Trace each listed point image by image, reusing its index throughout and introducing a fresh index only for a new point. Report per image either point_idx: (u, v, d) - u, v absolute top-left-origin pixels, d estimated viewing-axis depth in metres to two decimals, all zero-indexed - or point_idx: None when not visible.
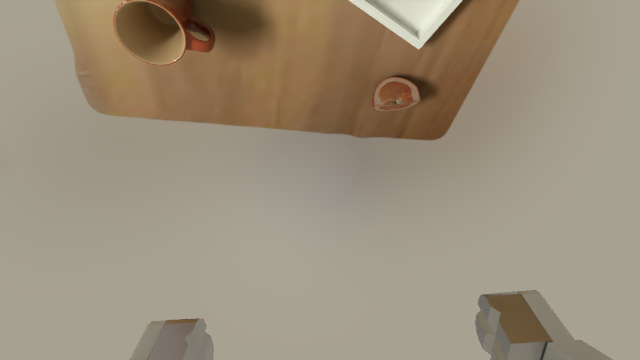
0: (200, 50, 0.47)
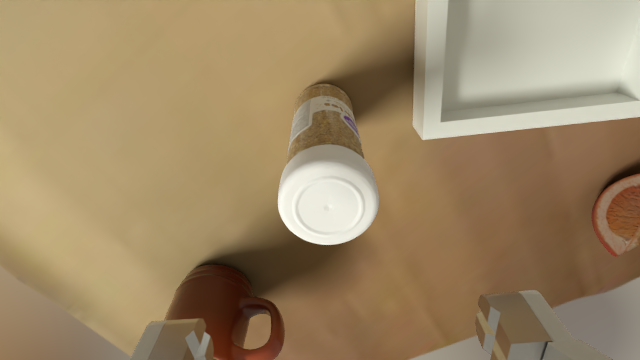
0: None
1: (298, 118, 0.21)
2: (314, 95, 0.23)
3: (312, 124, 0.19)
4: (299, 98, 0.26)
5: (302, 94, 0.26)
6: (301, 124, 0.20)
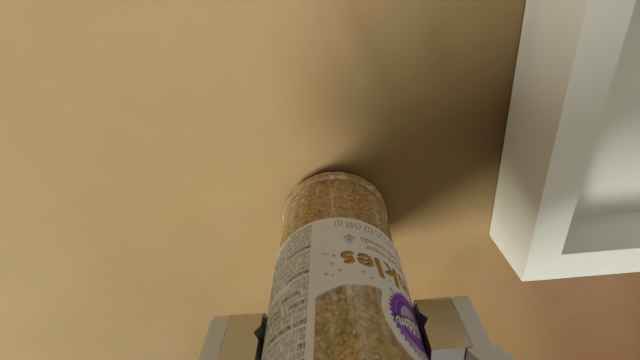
0: None
1: (283, 287, 0.10)
2: (318, 210, 0.12)
3: None
4: (291, 197, 0.14)
5: (296, 190, 0.14)
6: (287, 336, 0.08)
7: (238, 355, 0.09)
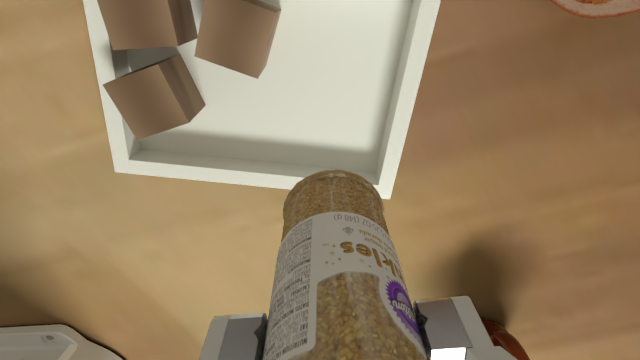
0: None
1: (286, 276, 0.10)
2: (318, 205, 0.12)
3: (317, 345, 0.07)
4: (292, 195, 0.15)
5: (297, 187, 0.14)
6: (291, 319, 0.08)
7: (238, 355, 0.09)
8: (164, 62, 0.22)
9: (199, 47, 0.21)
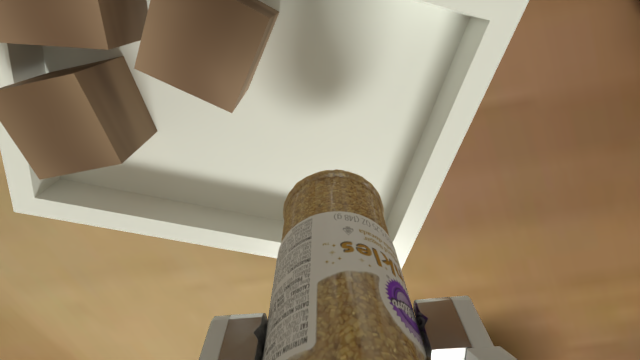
0: None
1: (286, 275, 0.10)
2: (318, 205, 0.12)
3: (317, 343, 0.07)
4: (292, 194, 0.15)
5: (297, 187, 0.14)
6: (291, 318, 0.08)
7: (238, 355, 0.09)
8: (89, 70, 0.14)
9: (143, 55, 0.13)
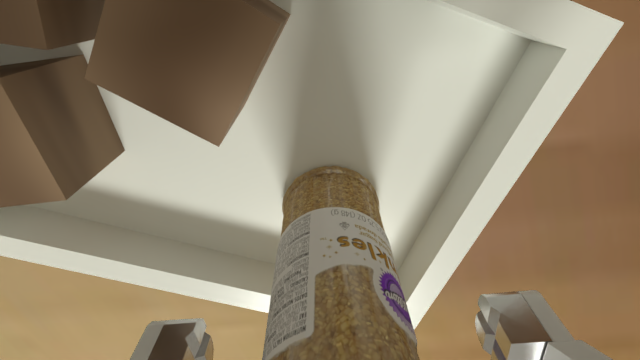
0: None
1: (286, 268, 0.11)
2: (316, 201, 0.13)
3: (315, 332, 0.08)
4: (290, 190, 0.15)
5: (295, 183, 0.15)
6: (290, 309, 0.09)
7: None
8: (25, 73, 0.10)
9: (97, 62, 0.09)
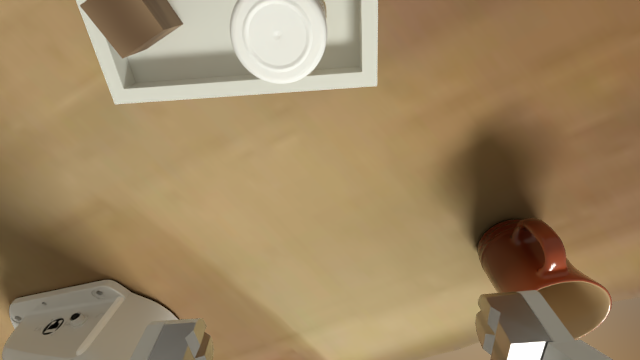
0: (563, 258, 0.29)
1: None
2: None
3: None
4: None
5: None
6: None
7: None
8: None
9: None
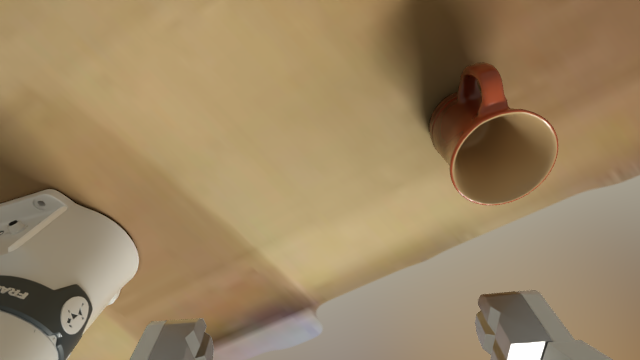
0: (500, 87, 0.27)
1: None
2: None
3: None
4: None
5: None
6: None
7: None
8: None
9: None
